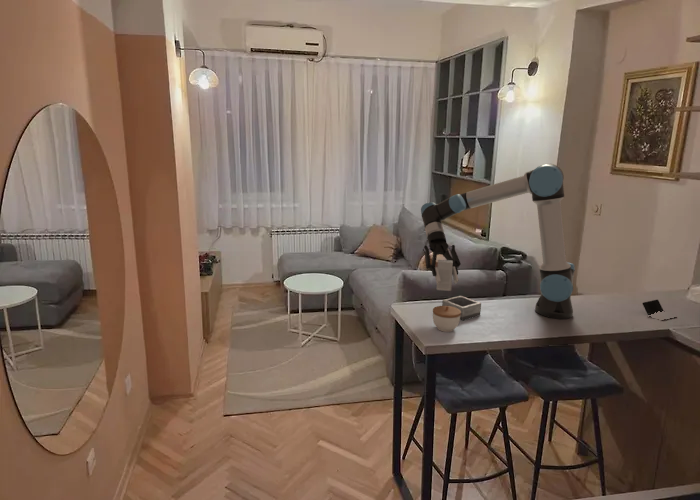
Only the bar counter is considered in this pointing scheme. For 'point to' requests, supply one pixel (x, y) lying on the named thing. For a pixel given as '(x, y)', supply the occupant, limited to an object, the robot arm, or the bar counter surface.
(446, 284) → the skincare box
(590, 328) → the bar counter surface
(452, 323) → the lidded jar
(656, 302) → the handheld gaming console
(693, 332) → the bar counter surface
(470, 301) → the housing
